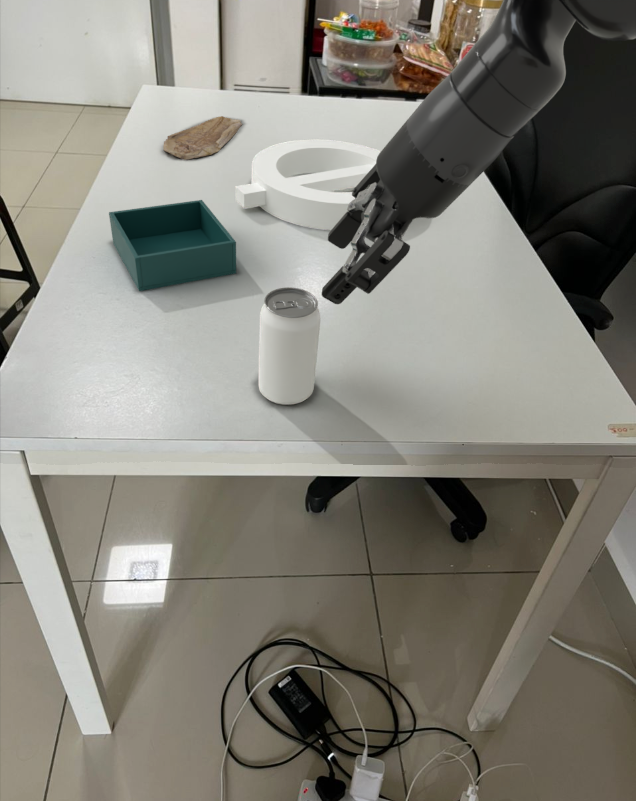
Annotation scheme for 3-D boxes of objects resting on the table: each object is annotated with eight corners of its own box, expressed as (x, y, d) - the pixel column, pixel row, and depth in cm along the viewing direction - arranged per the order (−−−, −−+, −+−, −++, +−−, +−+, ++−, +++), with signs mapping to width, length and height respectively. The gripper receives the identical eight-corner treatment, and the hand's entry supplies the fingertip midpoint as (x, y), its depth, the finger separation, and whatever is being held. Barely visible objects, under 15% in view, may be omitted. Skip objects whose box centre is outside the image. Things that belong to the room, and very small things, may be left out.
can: (318, 404, 73) (328, 317, 65) (262, 409, 72) (265, 321, 64) (307, 369, 78) (314, 283, 70) (254, 373, 77) (255, 286, 69)
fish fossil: (203, 115, 142) (203, 109, 141) (247, 125, 141) (247, 120, 141) (155, 153, 123) (155, 147, 122) (205, 165, 122) (206, 159, 121)
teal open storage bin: (139, 291, 88) (134, 258, 84) (113, 243, 97) (108, 212, 93) (236, 273, 93) (236, 241, 90) (203, 230, 102) (202, 199, 99)
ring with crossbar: (229, 212, 108) (229, 185, 104) (276, 154, 128) (277, 130, 125) (393, 243, 104) (398, 216, 101) (414, 178, 125) (419, 154, 122)
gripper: (407, 81, 56) (306, 208, 67) (410, 169, 47) (293, 300, 58) (470, 129, 59) (364, 244, 70) (483, 221, 50) (359, 336, 61)
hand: (332, 269), depth 64 cm, fingers open, 8 cm apart
